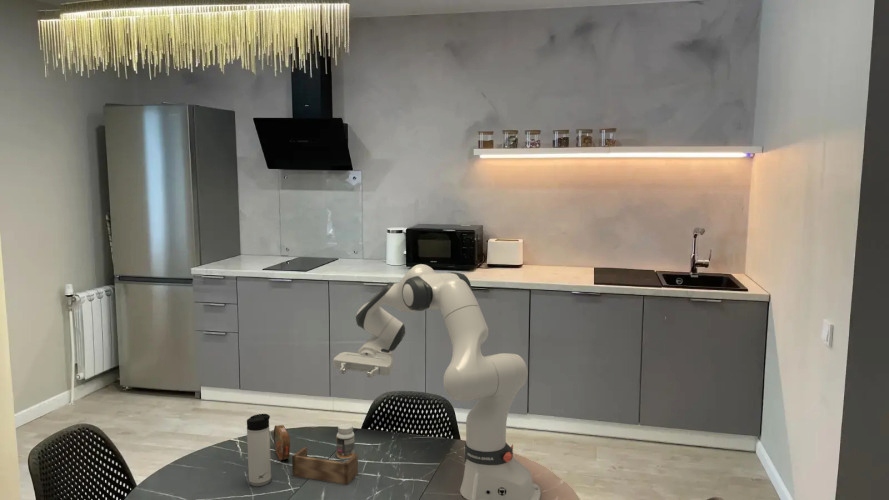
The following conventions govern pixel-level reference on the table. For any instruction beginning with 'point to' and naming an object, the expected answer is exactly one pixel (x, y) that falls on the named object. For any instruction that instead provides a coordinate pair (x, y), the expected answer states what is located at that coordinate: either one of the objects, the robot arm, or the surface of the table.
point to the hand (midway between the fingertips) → (355, 373)
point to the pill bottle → (345, 441)
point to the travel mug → (259, 450)
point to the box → (324, 468)
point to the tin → (281, 442)
